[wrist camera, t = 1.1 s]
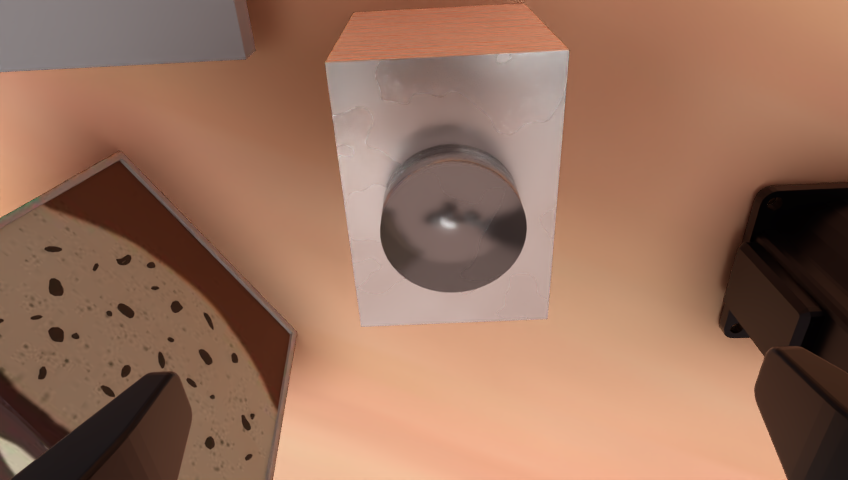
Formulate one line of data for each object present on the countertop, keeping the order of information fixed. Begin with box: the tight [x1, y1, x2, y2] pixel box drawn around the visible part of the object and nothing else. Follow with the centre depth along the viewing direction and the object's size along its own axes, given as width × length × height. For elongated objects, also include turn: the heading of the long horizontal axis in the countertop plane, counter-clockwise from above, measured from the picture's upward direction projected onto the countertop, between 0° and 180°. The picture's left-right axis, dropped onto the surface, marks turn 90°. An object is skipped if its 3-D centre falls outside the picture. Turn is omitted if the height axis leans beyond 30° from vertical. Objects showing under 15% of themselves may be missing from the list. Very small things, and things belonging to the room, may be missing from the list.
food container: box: [0, 151, 297, 480], centre depth 17 cm, size 12×6×10 cm, turn 32°
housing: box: [325, 3, 569, 327], centre depth 15 cm, size 5×7×7 cm
